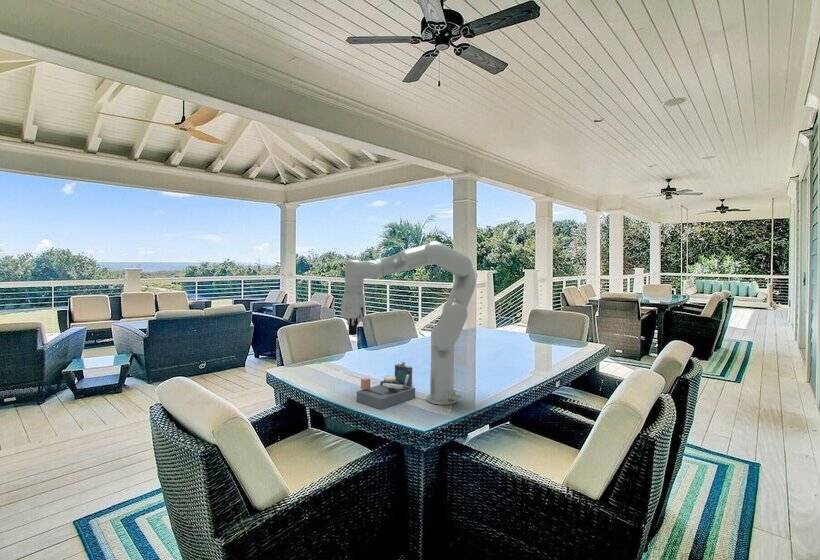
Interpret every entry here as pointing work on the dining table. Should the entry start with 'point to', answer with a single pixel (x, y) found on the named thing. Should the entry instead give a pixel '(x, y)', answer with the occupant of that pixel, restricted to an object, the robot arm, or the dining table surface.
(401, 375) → the flask
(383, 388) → the grey low block
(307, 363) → the dining table surface
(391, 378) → the push button
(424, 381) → the dining table surface
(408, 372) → the toggle lever
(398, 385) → the rocker
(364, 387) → the slider knob
